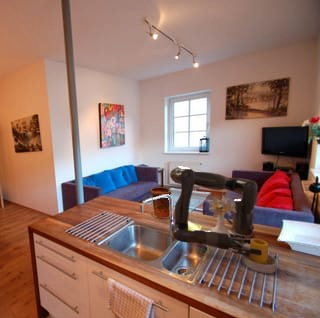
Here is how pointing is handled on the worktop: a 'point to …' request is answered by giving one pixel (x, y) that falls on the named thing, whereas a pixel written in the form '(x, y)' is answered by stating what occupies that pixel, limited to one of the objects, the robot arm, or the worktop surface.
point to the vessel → (161, 203)
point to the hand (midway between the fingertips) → (259, 248)
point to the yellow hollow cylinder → (261, 246)
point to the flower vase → (221, 212)
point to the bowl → (261, 268)
